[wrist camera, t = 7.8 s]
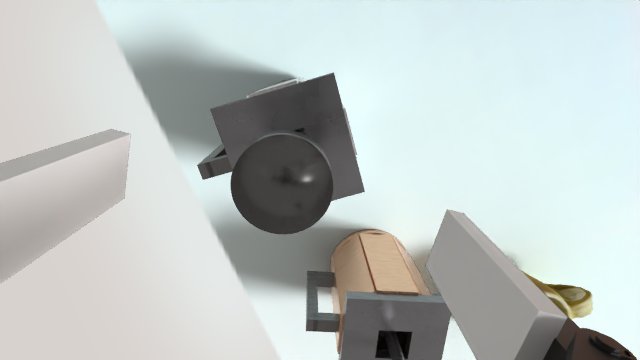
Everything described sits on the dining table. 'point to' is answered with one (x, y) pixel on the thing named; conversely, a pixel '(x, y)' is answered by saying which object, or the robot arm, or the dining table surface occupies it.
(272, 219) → the plunger steel
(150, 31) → the dining table surface
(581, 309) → the mug
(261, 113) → the plate
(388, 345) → the plunger copper
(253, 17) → the dining table surface
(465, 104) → the dining table surface
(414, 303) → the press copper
